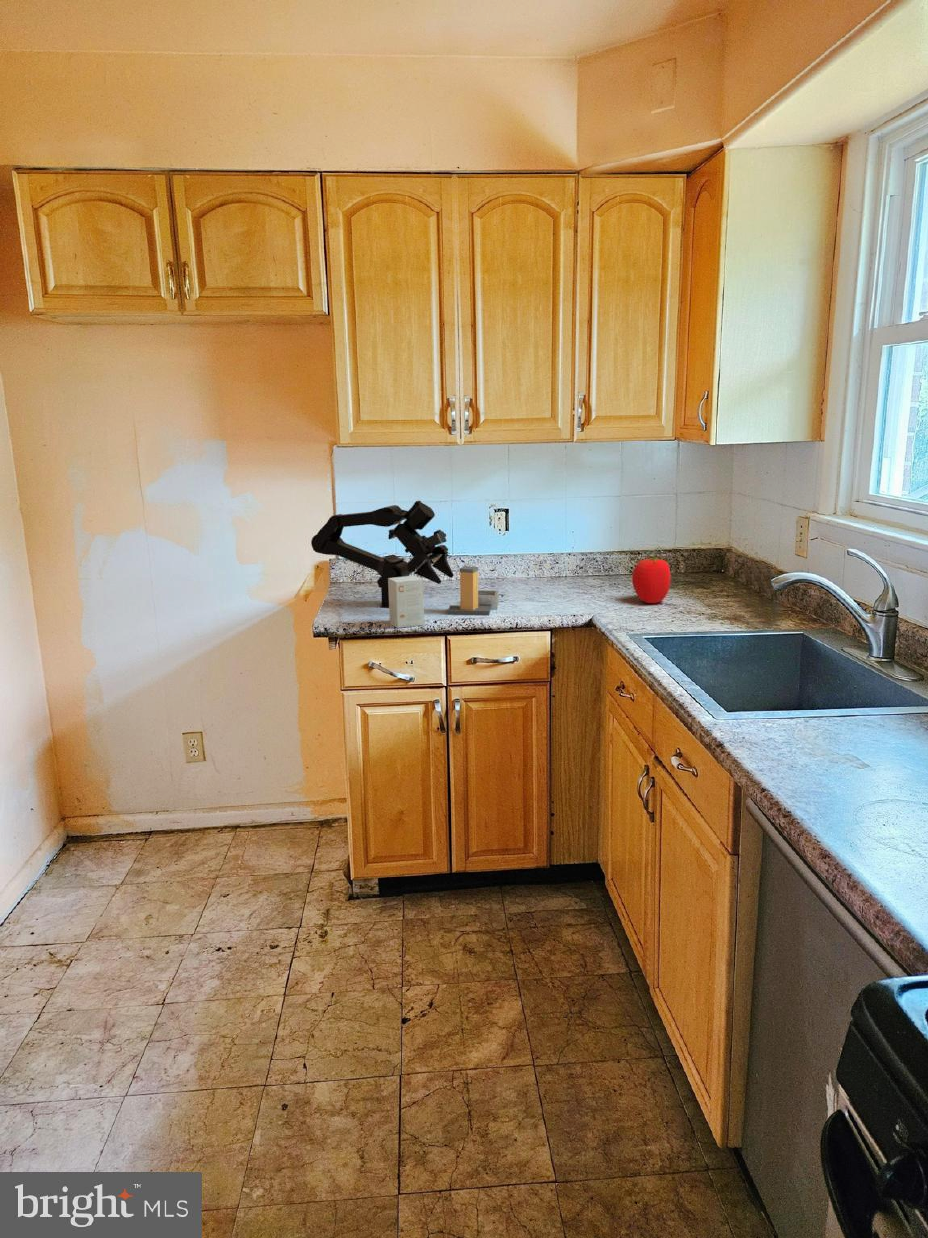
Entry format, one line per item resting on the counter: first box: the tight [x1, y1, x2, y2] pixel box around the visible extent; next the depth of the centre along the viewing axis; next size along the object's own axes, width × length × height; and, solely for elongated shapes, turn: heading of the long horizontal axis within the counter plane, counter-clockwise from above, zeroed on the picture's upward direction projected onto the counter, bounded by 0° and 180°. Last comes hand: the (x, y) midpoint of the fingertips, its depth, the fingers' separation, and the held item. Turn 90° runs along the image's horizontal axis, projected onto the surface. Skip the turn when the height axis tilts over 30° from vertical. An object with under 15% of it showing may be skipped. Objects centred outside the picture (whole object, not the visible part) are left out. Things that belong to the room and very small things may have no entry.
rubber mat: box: [447, 604, 492, 616], centre depth 245 cm, size 12×6×1 cm, turn 84°
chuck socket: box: [478, 589, 500, 610], centre depth 252 cm, size 8×8×4 cm
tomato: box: [631, 555, 672, 604], centre depth 254 cm, size 13×11×14 cm
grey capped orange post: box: [459, 565, 479, 610], centre depth 243 cm, size 4×4×12 cm
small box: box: [388, 575, 425, 629], centre depth 230 cm, size 8×6×13 cm
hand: (446, 579), depth 245 cm, fingers open, 9 cm apart
